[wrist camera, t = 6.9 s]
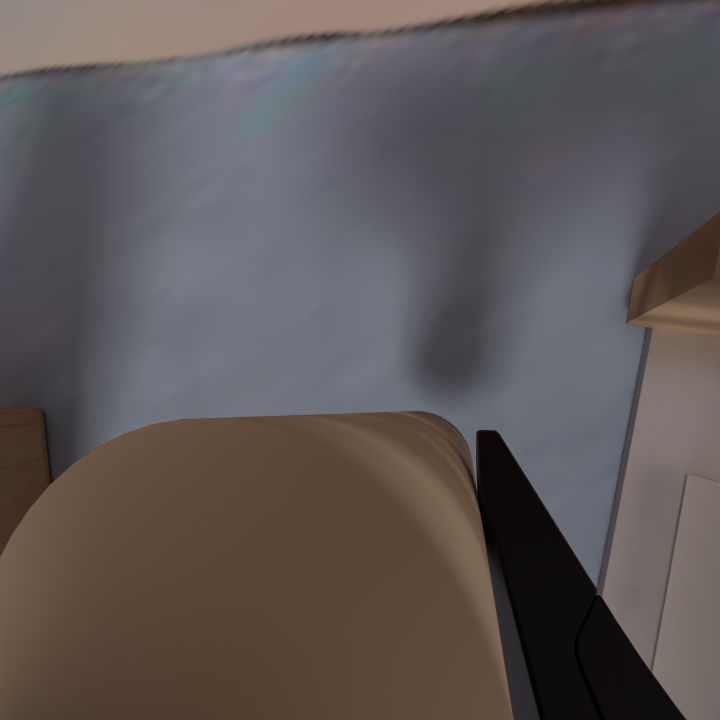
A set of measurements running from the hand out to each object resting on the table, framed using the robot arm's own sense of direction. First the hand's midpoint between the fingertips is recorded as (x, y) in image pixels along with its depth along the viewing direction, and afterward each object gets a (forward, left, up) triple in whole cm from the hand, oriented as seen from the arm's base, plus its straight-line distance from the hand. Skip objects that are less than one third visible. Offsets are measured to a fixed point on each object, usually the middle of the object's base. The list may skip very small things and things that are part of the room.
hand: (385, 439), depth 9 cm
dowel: (-1, +1, -7) cm, 7 cm away
